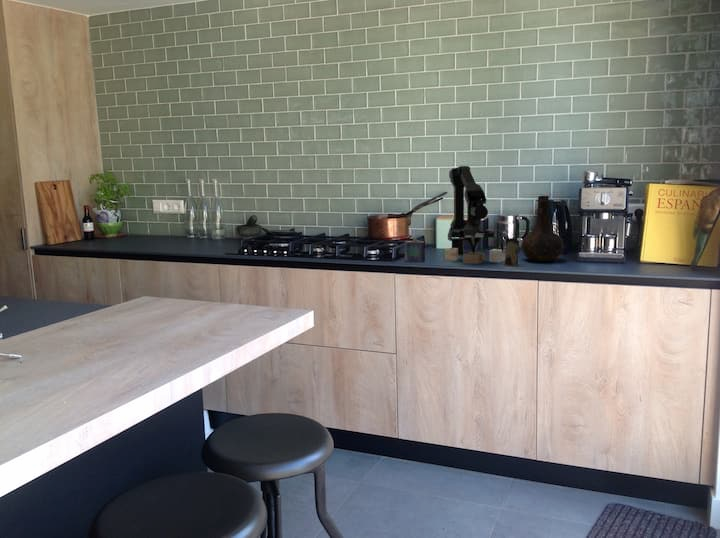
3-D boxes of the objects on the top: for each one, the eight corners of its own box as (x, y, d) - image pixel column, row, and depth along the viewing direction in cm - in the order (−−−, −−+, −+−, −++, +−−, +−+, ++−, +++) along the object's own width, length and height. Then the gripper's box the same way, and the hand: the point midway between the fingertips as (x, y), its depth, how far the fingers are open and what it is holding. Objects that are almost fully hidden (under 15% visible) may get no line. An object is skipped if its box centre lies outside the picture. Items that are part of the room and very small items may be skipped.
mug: (520, 265, 281) (521, 236, 279) (512, 266, 277) (513, 238, 275) (505, 263, 287) (505, 235, 285) (497, 264, 283) (497, 236, 281)
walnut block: (469, 260, 296) (469, 251, 296) (484, 261, 293) (484, 252, 292) (463, 263, 291) (463, 254, 290) (478, 264, 287) (478, 255, 286)
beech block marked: (446, 258, 302) (446, 247, 301) (457, 259, 301) (457, 247, 300) (445, 260, 297) (445, 249, 296) (456, 261, 296) (456, 249, 295)
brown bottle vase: (539, 265, 279) (540, 198, 274) (512, 259, 295) (513, 195, 290) (572, 261, 286) (574, 195, 281) (545, 255, 302) (546, 193, 297)
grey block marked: (494, 260, 296) (495, 248, 295) (505, 261, 293) (505, 249, 292) (489, 261, 292) (489, 250, 291) (499, 262, 289) (499, 251, 288)
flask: (404, 261, 298) (403, 237, 296) (406, 260, 300) (406, 236, 298) (423, 262, 294) (423, 238, 292) (426, 261, 296) (425, 237, 294)
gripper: (447, 218, 285) (447, 254, 288) (490, 219, 277) (490, 256, 280) (455, 215, 295) (455, 250, 298) (497, 216, 287) (497, 252, 290)
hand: (473, 252), depth 291 cm, fingers closed
